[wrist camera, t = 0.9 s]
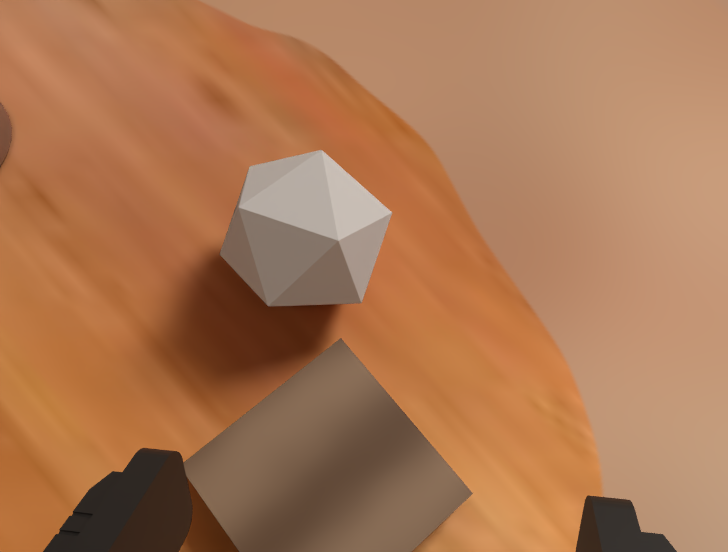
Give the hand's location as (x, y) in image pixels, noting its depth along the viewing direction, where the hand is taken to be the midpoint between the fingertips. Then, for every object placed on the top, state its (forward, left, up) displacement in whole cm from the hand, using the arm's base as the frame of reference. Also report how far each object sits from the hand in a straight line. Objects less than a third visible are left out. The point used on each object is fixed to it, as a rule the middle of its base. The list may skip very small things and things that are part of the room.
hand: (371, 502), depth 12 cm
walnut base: (-2, 0, -21) cm, 21 cm away
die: (-13, +6, -21) cm, 25 cm away
